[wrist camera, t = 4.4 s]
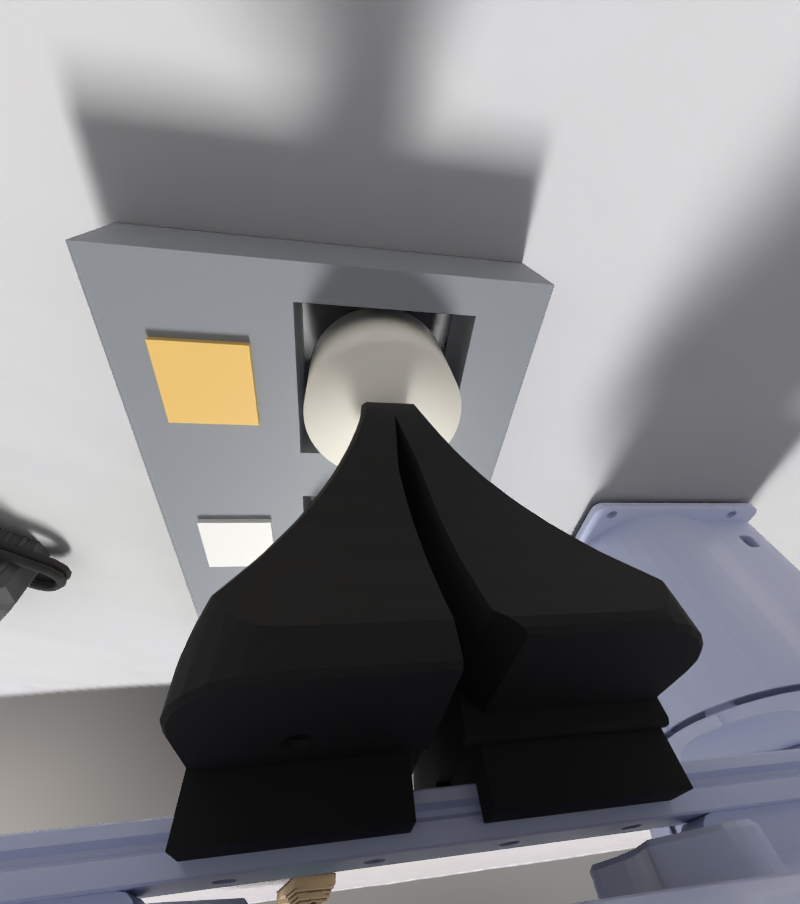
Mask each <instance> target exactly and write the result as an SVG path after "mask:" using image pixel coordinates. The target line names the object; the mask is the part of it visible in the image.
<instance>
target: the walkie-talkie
mask: <svg viewBox="0 0 800 904" xmlns="http://www.w3.org/2000/svg"><path fill="white" fill-rule="evenodd" d="M49 556H50V554H49V553H48V552H47V551H46V549H45V548H44V547H43V546H42V544H41V543H40V542H37V543H36V542H34V541H31V540H29V538H27V537H21V536H18V535H15V533H14V532H11V531H10V532H7V531H5V530H2V529H0V621H1V620H2V619H3V618H4V617H5V616H6V614H7V613H8V612H9V611H10V610H11V609H12V607H13V606H14V605H15V604H16V602H17V601H18V599H19V598H20V597H21V595H22V594H23V592H24V591H25V590H26V588H27V587H30V588H33V589H37V590H42V591H56V590H58V589H60V588H62V587H64V586H65V585H66V581H67V580H68V579H69V578H70V576H71V573H72V572H71V571H70V569H69V568H68V566H66V565H65V564H63V563H61V562H59V561H58V560H56V559H53V558H50V557H49Z"/></svg>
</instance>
